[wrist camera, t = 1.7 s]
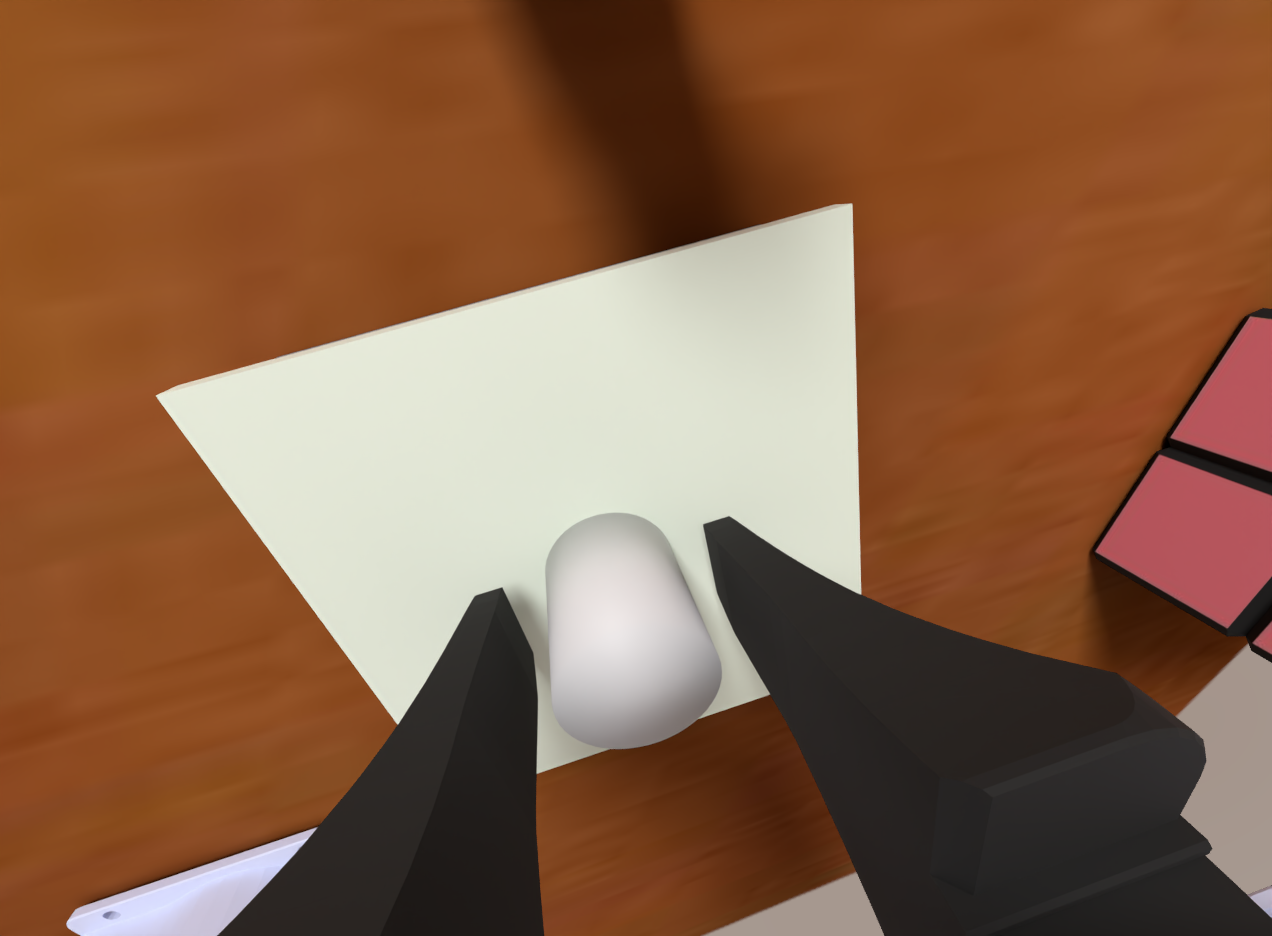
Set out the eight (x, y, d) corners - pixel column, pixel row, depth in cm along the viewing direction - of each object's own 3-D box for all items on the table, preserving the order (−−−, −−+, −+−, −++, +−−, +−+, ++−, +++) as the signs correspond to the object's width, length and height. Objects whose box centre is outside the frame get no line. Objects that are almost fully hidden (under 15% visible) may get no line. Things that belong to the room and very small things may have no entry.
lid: (456, 780, 15) (434, 961, 11) (177, 385, 9) (-62, 497, 5) (851, 648, 16) (948, 776, 12) (834, 204, 10) (1015, 194, 6)
